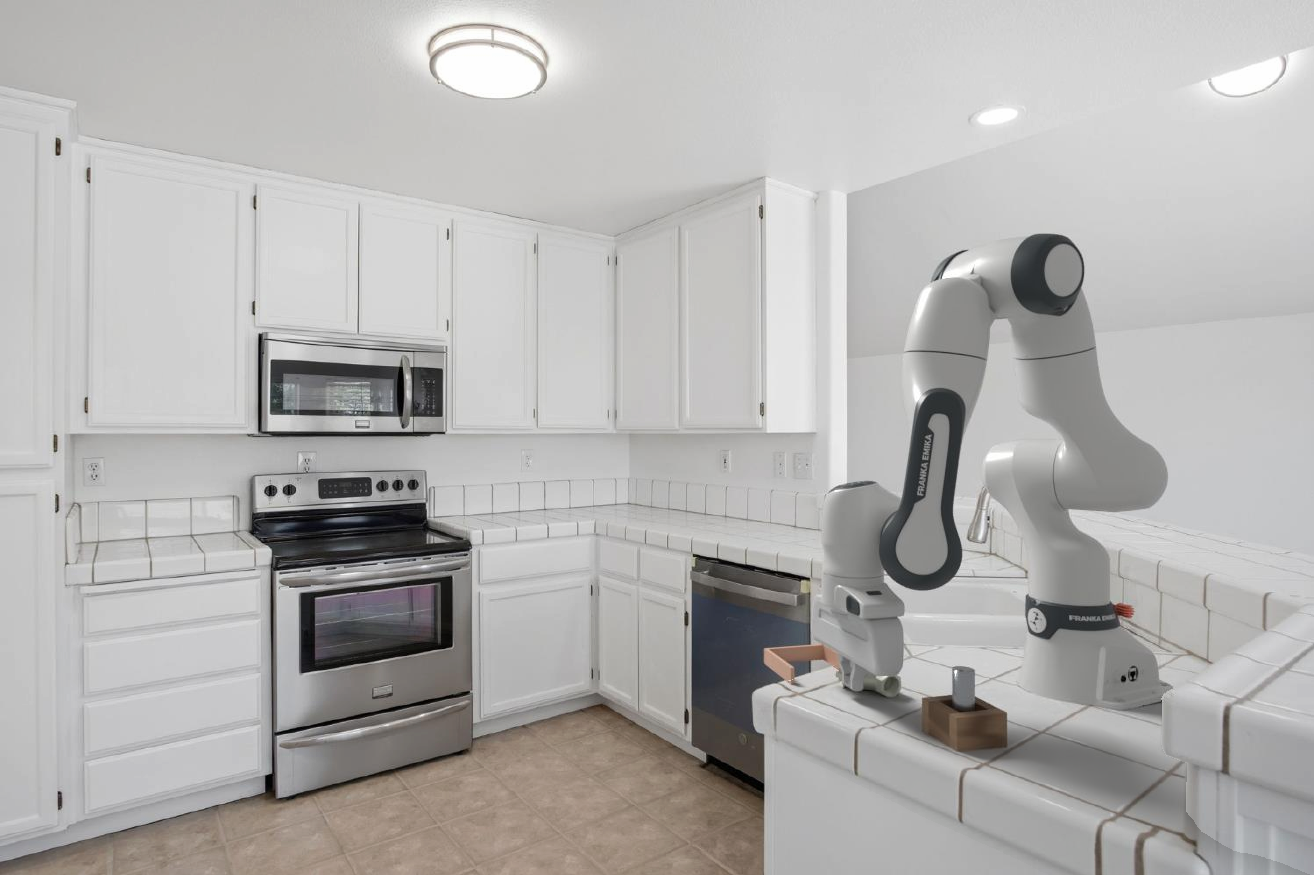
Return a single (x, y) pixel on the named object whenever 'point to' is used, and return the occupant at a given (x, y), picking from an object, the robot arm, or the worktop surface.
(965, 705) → the cylinder
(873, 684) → the pipe fitting
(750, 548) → the worktop surface
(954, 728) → the block
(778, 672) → the corral
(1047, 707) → the worktop surface
